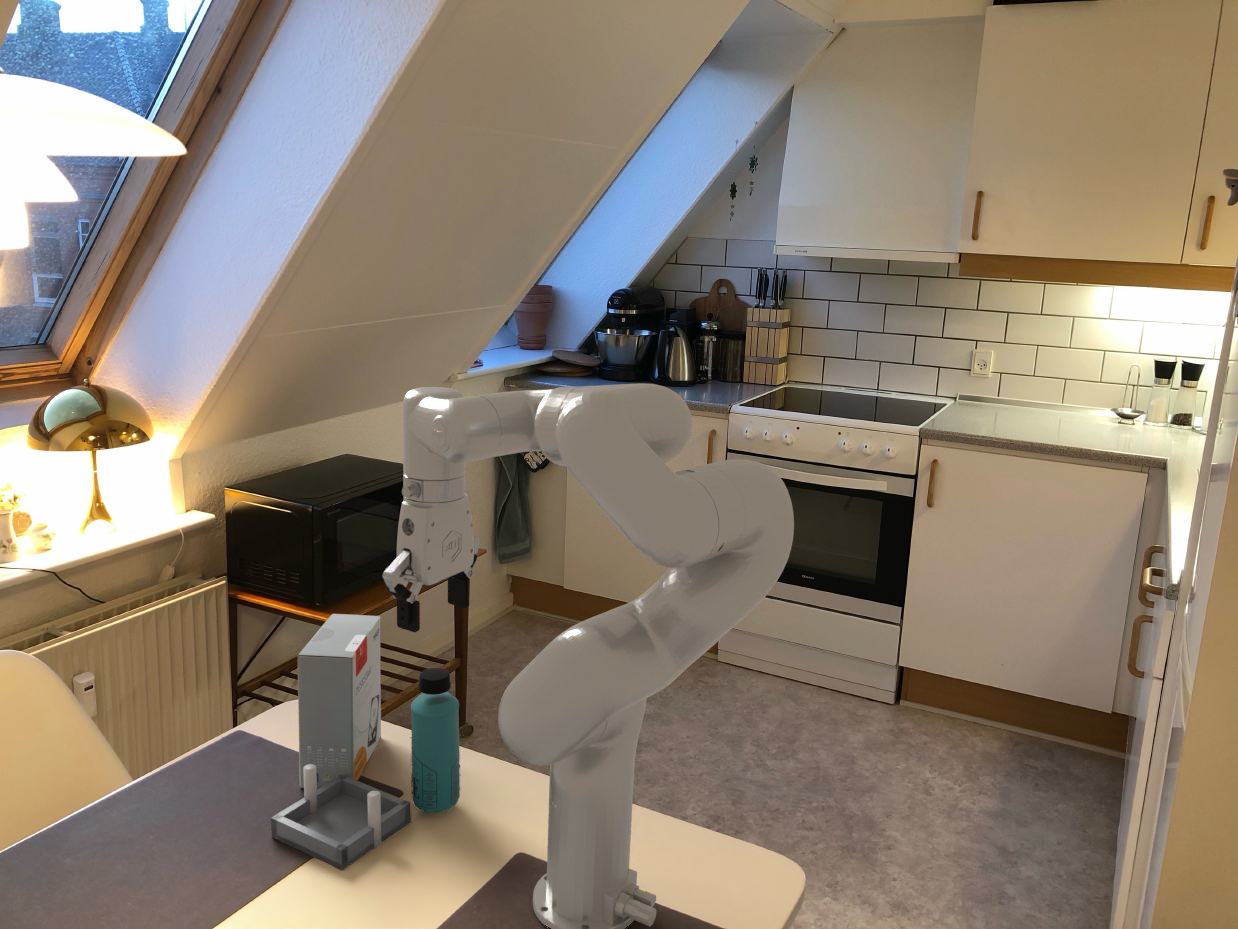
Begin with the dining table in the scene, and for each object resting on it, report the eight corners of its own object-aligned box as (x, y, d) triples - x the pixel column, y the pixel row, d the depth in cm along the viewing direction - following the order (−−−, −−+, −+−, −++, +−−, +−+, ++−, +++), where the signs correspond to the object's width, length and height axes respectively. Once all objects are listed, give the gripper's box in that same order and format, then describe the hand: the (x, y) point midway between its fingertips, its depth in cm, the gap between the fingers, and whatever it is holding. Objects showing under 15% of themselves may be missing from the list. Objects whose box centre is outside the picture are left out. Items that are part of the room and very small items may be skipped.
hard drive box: (354, 792, 136) (351, 658, 131) (298, 790, 136) (293, 655, 131) (382, 736, 151) (381, 614, 146) (333, 734, 151) (329, 611, 146)
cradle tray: (412, 822, 129) (411, 774, 128) (343, 871, 119) (342, 820, 117) (341, 792, 135) (339, 746, 134) (270, 836, 125) (267, 787, 123)
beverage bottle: (470, 810, 133) (471, 673, 128) (429, 830, 128) (429, 688, 123) (440, 790, 137) (440, 657, 132) (400, 809, 132) (399, 671, 127)
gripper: (410, 508, 113) (410, 647, 117) (500, 479, 128) (498, 603, 132) (361, 497, 117) (363, 632, 121) (455, 470, 131) (454, 591, 135)
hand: (434, 616), depth 126 cm, fingers open, 9 cm apart
